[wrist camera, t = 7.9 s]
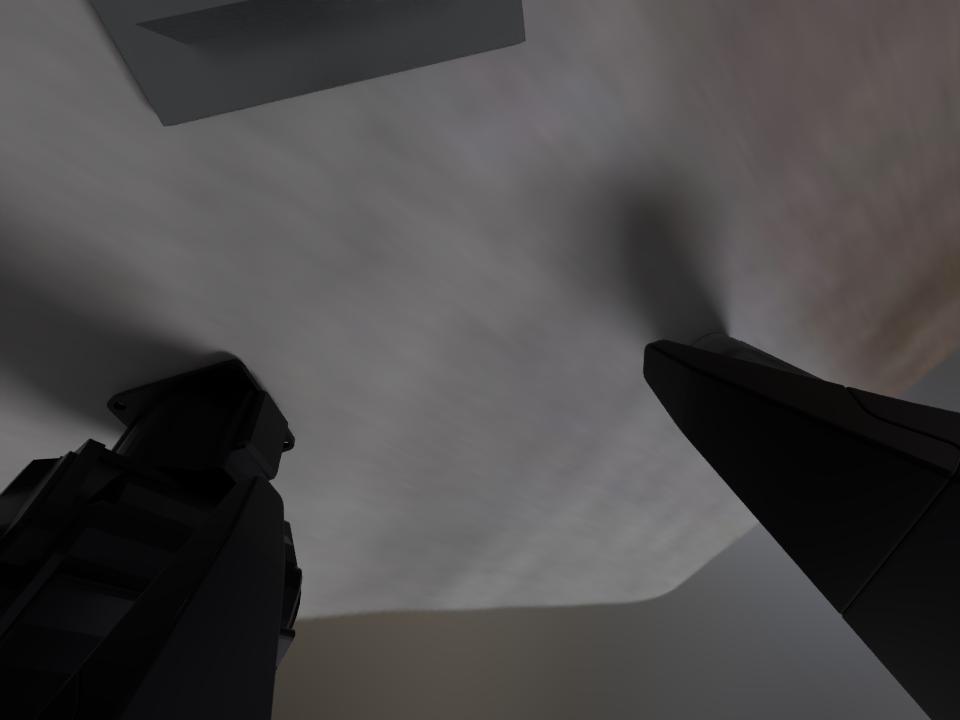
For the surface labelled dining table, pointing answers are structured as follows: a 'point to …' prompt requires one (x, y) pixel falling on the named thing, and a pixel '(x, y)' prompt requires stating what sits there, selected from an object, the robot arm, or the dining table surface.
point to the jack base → (290, 45)
